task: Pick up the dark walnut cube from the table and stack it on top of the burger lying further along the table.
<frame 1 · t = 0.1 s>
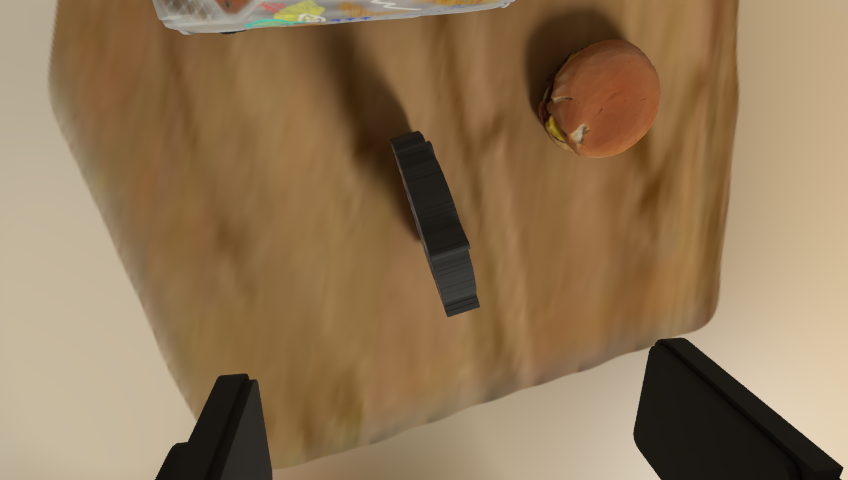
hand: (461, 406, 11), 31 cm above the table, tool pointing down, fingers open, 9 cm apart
decorative emblem: (420, 194, 41), on the table
burger: (587, 101, 41), on the table
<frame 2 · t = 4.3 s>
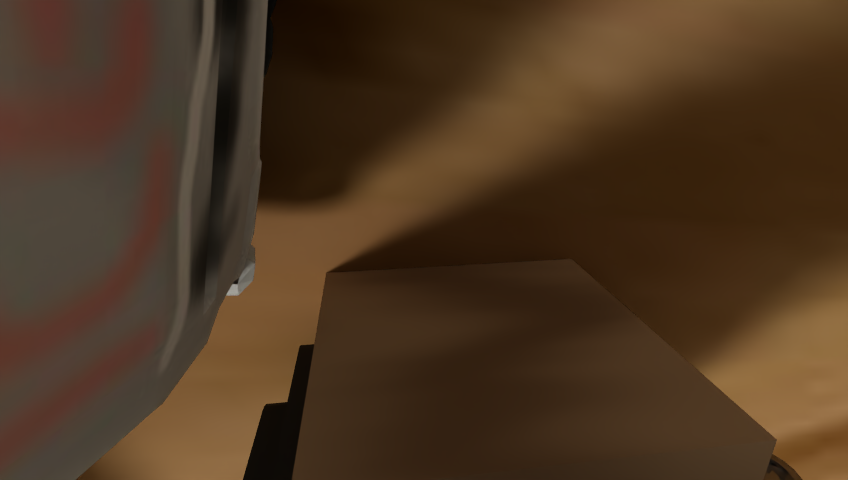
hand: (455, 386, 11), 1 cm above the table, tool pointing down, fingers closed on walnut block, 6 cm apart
walnut block: (451, 369, 12), on the table, touching gripper
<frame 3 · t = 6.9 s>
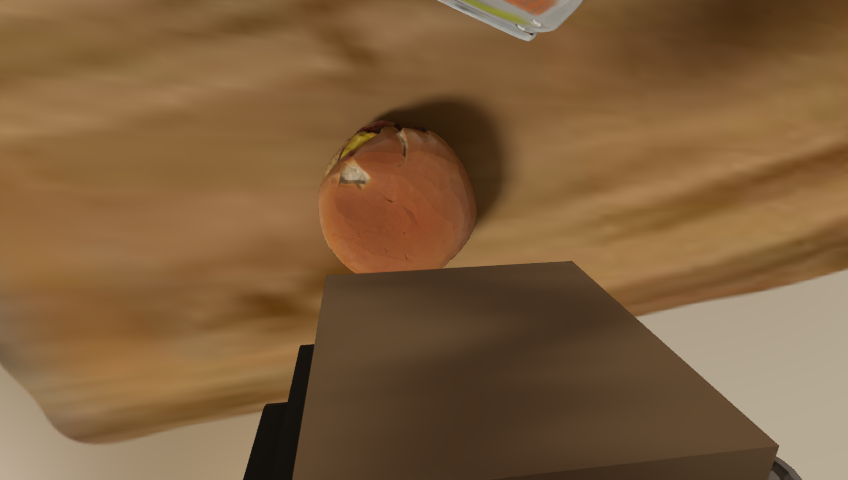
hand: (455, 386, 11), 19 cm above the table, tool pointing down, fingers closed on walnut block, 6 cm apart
walnut block: (451, 372, 12), point 19 cm above the table, touching gripper
burger: (392, 197, 30), on the table
when the fingers open (7 cm above the table, at t = 9.9 s): walnut block drops 2 cm, resting on burger.
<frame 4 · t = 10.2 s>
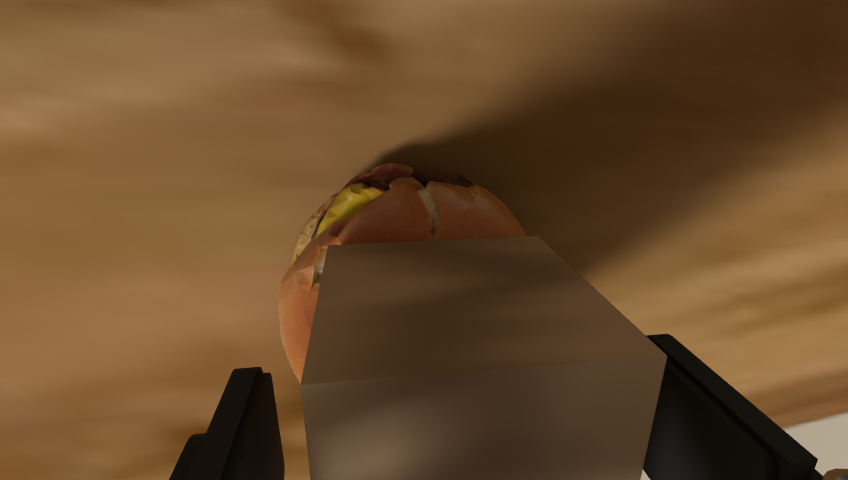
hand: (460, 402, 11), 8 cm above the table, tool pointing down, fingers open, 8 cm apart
walnut block: (434, 332, 14), point 4 cm above the table, touching burger
burger: (405, 280, 18), on the table, touching walnut block
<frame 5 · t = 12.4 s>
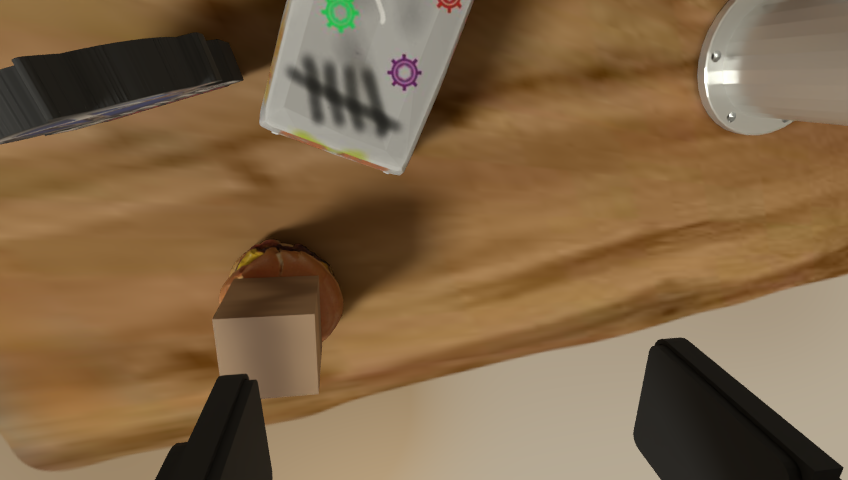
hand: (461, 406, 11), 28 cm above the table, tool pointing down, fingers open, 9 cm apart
walnut block: (279, 313, 34), point 4 cm above the table, touching burger
decorative emblem: (162, 86, 32), on the table
burger: (284, 289, 39), on the table, touching walnut block
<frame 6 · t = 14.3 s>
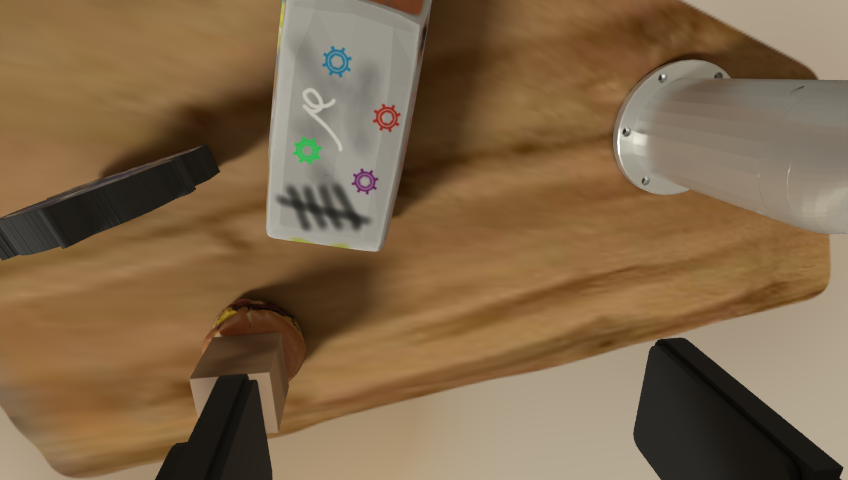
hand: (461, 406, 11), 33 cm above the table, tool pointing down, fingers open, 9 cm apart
walnut block: (252, 362, 42), point 4 cm above the table, touching burger
decorative emblem: (156, 175, 40), on the table
burger: (259, 335, 47), on the table, touching walnut block
toy car: (348, 86, 40), on the table
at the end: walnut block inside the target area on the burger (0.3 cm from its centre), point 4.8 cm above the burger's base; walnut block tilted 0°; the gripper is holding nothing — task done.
